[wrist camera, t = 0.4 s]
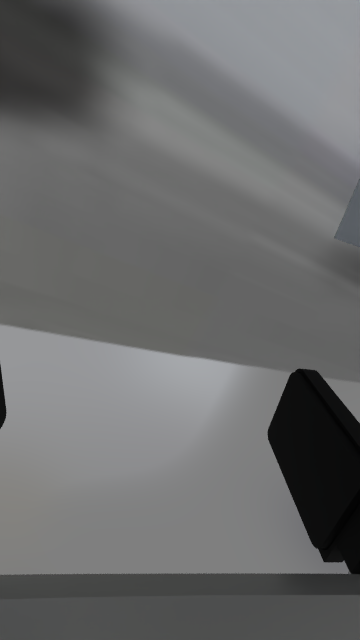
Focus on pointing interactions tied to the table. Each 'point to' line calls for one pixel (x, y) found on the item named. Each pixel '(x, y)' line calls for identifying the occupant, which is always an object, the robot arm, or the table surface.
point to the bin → (351, 221)
